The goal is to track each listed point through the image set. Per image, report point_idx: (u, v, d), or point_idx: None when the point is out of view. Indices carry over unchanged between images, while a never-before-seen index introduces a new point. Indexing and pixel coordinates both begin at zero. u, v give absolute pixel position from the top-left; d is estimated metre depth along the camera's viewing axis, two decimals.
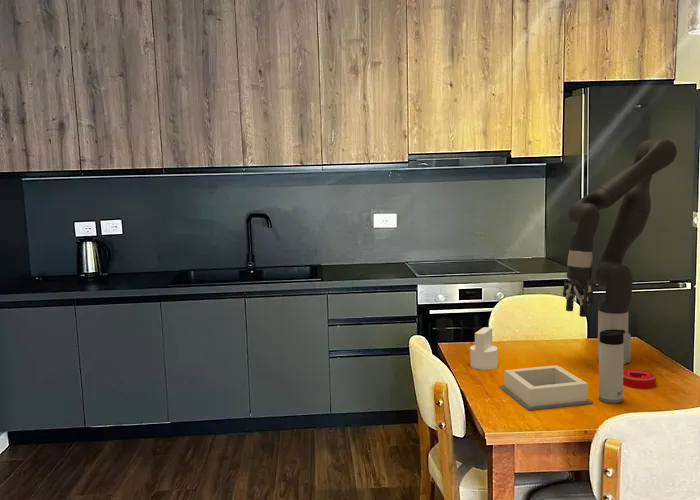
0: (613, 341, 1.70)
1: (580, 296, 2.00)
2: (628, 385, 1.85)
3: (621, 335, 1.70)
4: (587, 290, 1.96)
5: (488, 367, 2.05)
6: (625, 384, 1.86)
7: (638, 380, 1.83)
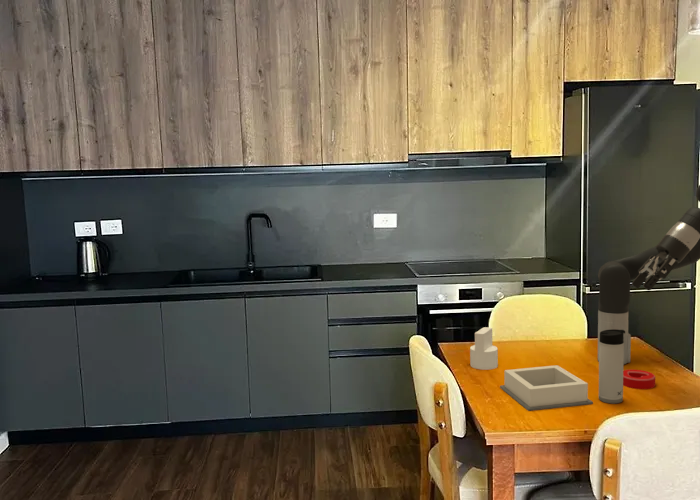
0: (613, 341, 1.70)
1: (657, 267, 1.70)
2: (627, 385, 1.85)
3: (621, 335, 1.70)
4: (669, 261, 1.67)
5: (488, 367, 2.05)
6: (624, 384, 1.85)
7: (637, 381, 1.83)
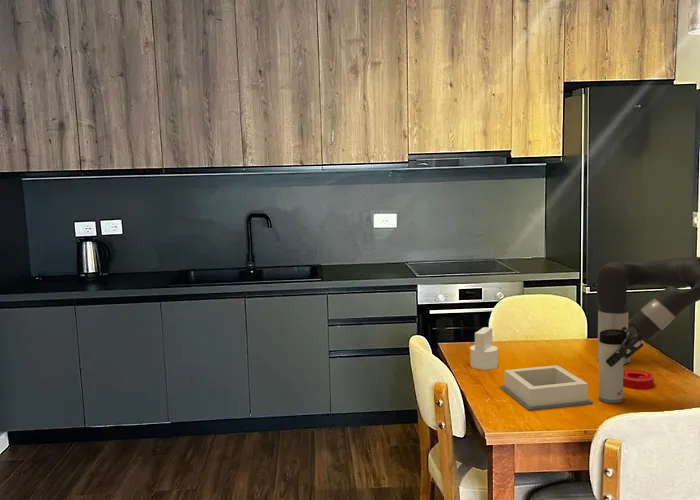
0: (612, 340, 1.70)
1: (623, 344, 1.69)
2: (626, 385, 1.84)
3: (621, 335, 1.70)
4: (634, 343, 1.66)
5: (488, 367, 2.05)
6: (623, 384, 1.85)
7: (636, 381, 1.82)
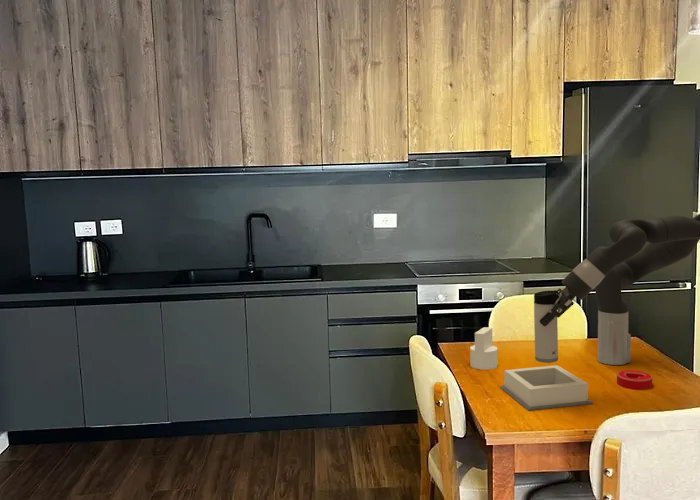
0: (545, 301, 1.74)
1: (555, 304, 1.73)
2: (624, 386, 1.84)
3: (554, 295, 1.74)
4: (564, 302, 1.69)
5: (488, 367, 2.05)
6: (621, 385, 1.85)
7: (634, 381, 1.82)
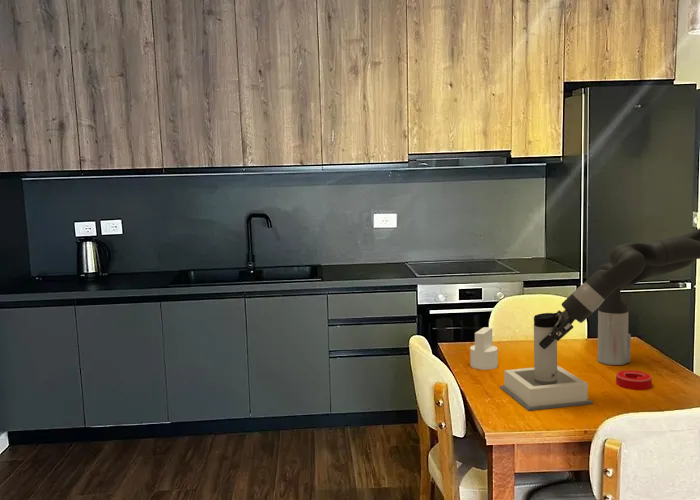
0: (545, 323, 1.74)
1: (555, 327, 1.74)
2: (624, 386, 1.84)
3: (553, 318, 1.75)
4: (564, 325, 1.70)
5: (488, 367, 2.05)
6: (621, 385, 1.85)
7: (634, 381, 1.82)
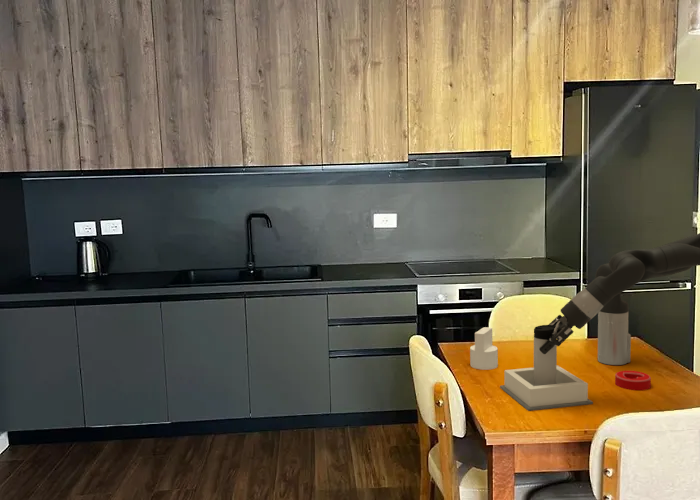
0: (545, 335, 1.75)
1: (555, 332, 1.74)
2: (623, 386, 1.84)
3: None
4: (564, 330, 1.70)
5: (488, 367, 2.05)
6: (620, 385, 1.85)
7: (633, 382, 1.82)
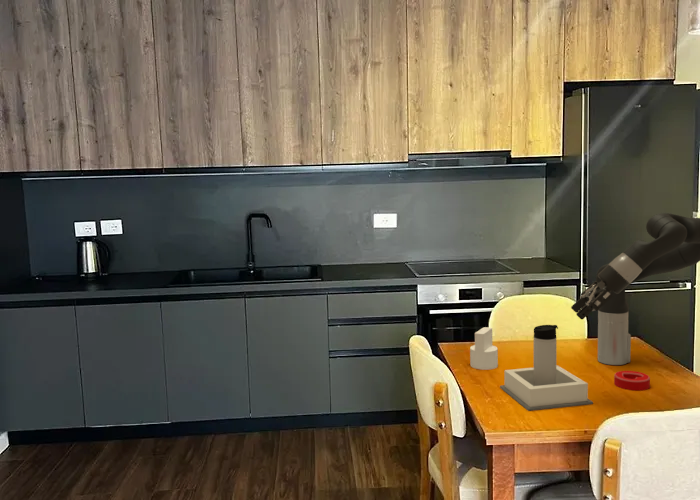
0: (545, 335, 1.75)
1: (593, 297, 1.71)
2: (622, 386, 1.84)
3: (553, 330, 1.75)
4: (603, 294, 1.67)
5: (488, 367, 2.05)
6: (619, 385, 1.85)
7: (632, 382, 1.82)
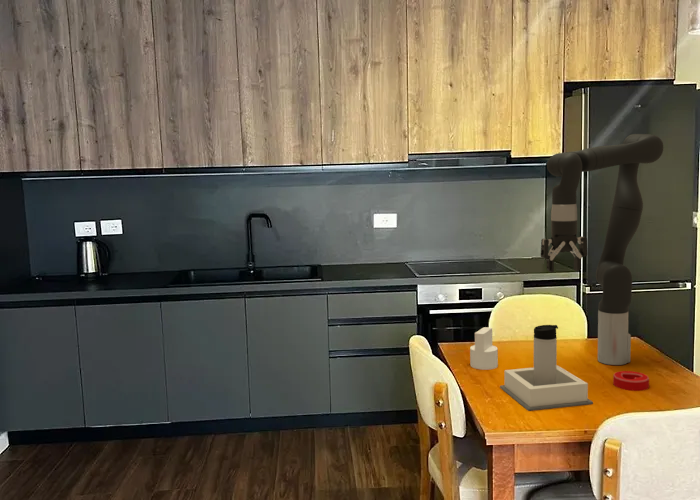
0: (545, 336, 1.75)
1: (550, 250, 1.93)
2: (621, 387, 1.84)
3: (553, 330, 1.75)
4: (542, 243, 1.92)
5: (488, 367, 2.05)
6: (618, 386, 1.84)
7: (631, 382, 1.81)
